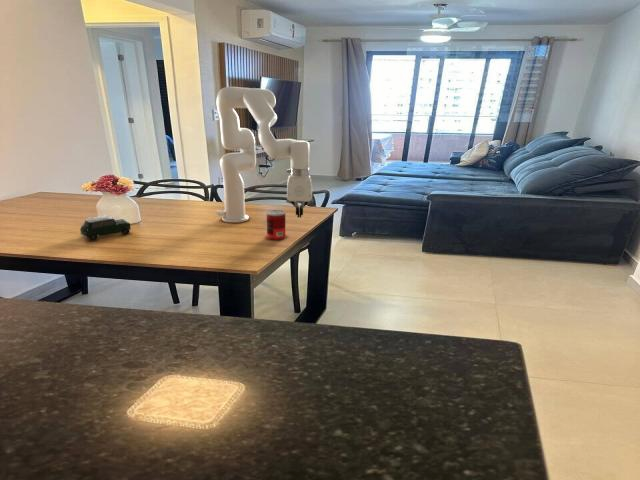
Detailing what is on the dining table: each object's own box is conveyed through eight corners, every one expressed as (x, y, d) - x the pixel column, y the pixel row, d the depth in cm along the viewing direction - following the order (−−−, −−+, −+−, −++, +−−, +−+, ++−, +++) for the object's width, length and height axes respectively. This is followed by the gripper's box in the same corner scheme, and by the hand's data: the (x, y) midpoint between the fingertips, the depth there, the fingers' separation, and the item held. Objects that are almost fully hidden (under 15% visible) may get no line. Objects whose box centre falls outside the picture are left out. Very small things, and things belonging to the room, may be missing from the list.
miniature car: (133, 233, 161) (131, 215, 158) (85, 242, 149) (82, 222, 146) (126, 228, 167) (123, 210, 164) (79, 237, 155) (75, 218, 152)
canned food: (288, 235, 163) (288, 210, 160) (280, 241, 156) (280, 215, 153) (272, 233, 166) (271, 208, 162) (263, 238, 159) (263, 213, 155)
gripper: (280, 173, 149) (280, 218, 154) (318, 174, 149) (317, 219, 155) (281, 170, 156) (281, 214, 162) (318, 171, 156) (317, 214, 162)
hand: (299, 216), depth 158 cm, fingers closed
